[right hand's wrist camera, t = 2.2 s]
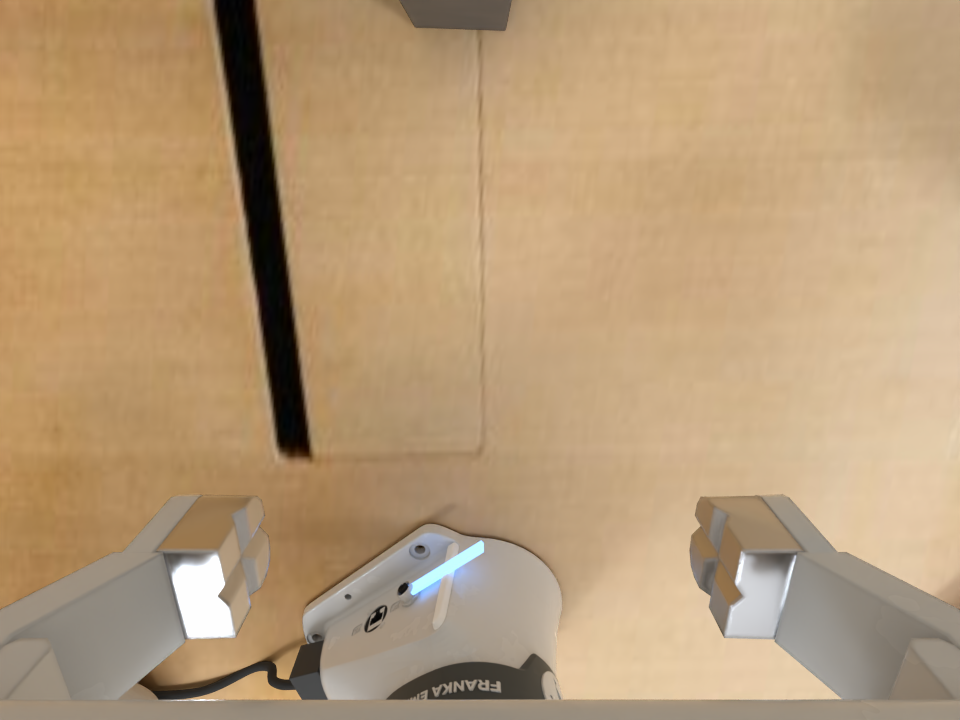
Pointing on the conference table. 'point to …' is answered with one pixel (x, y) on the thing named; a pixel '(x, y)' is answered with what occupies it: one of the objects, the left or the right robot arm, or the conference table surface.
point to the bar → (458, 14)
